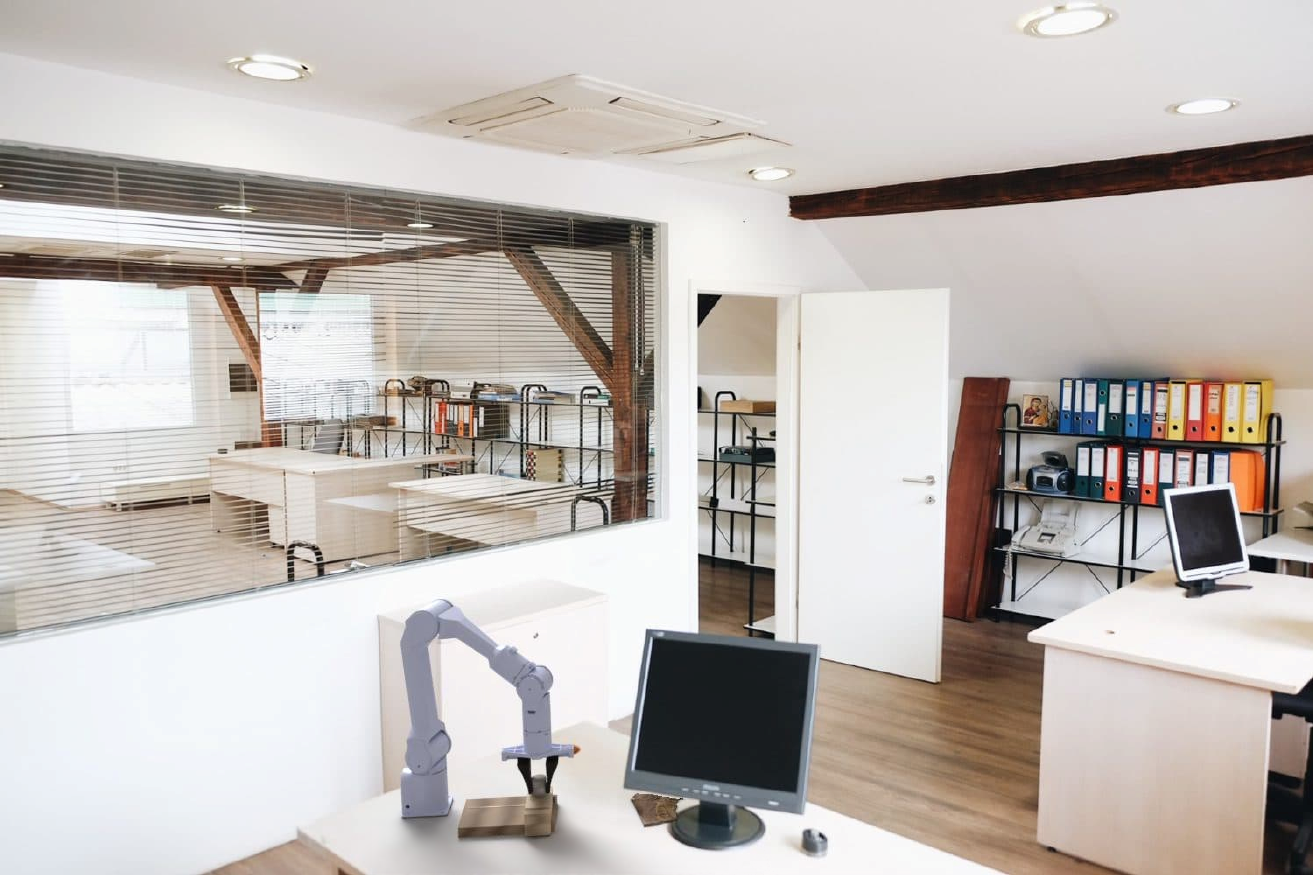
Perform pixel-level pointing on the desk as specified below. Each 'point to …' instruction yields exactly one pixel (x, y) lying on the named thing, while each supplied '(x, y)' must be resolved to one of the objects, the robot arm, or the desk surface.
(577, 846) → the desk surface
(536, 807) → the beige block with knob
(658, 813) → the wooden fragment
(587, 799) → the desk surface
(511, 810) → the board
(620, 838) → the desk surface
